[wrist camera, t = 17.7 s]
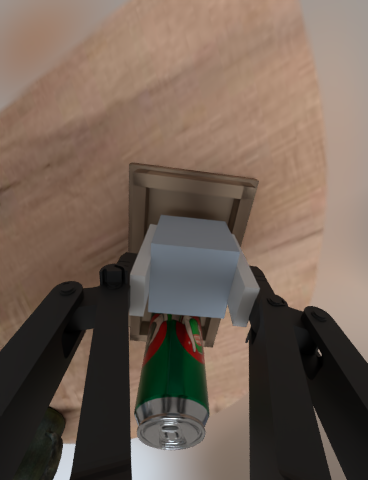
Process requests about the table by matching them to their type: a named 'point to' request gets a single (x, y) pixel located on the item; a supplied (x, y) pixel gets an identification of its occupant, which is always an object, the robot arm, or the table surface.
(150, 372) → the soda can
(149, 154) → the table surface
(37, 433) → the mug
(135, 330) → the caddy
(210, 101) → the table surface
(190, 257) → the block
